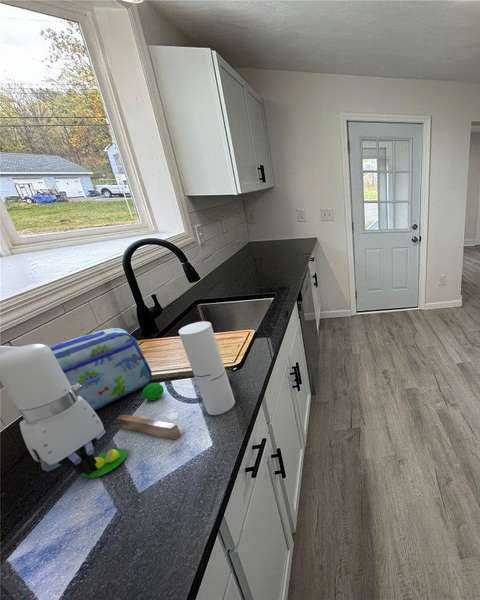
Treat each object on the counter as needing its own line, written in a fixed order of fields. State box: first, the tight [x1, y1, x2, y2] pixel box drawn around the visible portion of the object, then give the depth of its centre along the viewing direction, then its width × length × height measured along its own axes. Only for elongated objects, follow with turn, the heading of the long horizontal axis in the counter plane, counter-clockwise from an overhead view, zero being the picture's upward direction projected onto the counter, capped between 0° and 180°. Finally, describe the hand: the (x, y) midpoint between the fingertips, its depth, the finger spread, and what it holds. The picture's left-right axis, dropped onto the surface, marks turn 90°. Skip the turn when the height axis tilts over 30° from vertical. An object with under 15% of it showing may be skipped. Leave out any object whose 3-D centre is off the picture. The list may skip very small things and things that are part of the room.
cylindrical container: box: [178, 321, 236, 416], centre depth 84 cm, size 7×7×25 cm
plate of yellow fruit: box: [81, 447, 128, 479], centre depth 71 cm, size 8×8×3 cm
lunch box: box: [49, 327, 153, 412], centre depth 89 cm, size 26×11×21 cm, turn 144°
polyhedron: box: [141, 382, 165, 401], centre depth 93 cm, size 5×5×5 cm
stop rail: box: [116, 413, 182, 440], centre depth 80 cm, size 18×2×4 cm, turn 75°
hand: (88, 470), depth 69 cm, fingers closed
